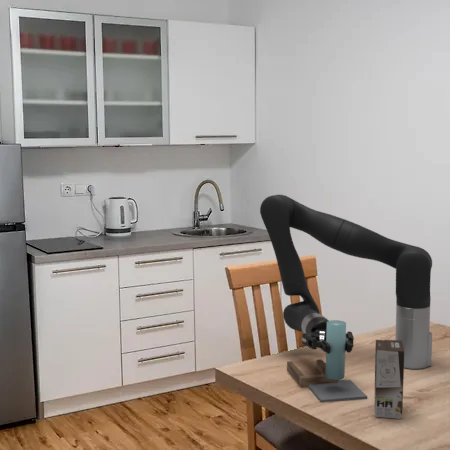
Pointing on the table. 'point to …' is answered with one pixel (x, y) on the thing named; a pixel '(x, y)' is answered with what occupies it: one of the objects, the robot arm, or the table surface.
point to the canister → (336, 349)
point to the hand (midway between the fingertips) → (339, 349)
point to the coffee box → (389, 378)
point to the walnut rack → (312, 379)
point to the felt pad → (337, 391)
